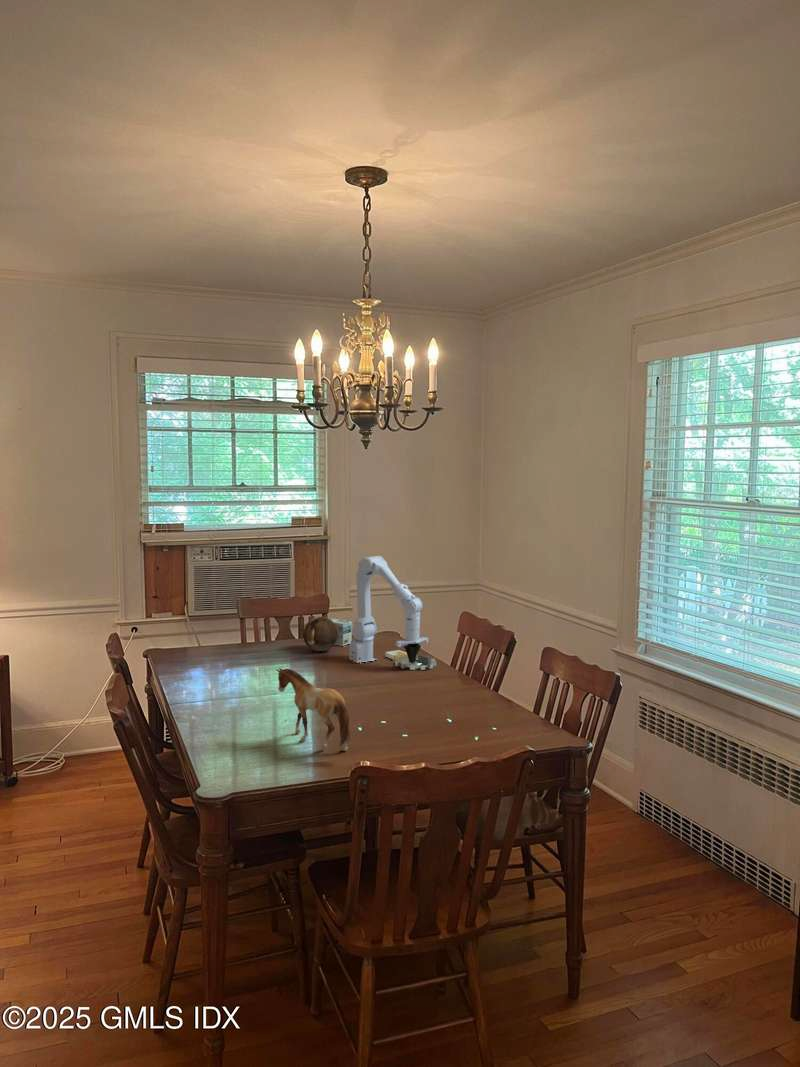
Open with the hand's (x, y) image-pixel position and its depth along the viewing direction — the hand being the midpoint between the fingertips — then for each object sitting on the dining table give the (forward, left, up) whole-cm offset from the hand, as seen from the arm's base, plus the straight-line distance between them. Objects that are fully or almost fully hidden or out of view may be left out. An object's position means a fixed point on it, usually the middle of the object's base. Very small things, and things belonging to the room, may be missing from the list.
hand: (411, 662), depth 303 cm
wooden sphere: (-16, +45, -3) cm, 48 cm away
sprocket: (+6, +5, -3) cm, 8 cm away
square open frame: (+6, +18, -3) cm, 19 cm away
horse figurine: (-73, -52, -3) cm, 90 cm away
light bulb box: (-3, +52, -3) cm, 52 cm away
